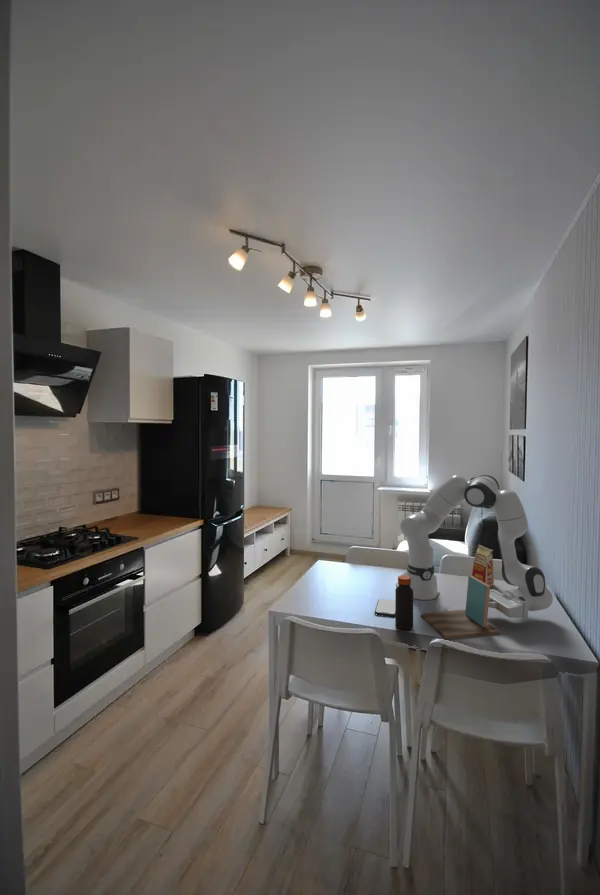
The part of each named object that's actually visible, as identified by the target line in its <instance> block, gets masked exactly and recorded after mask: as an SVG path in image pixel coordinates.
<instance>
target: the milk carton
mask: <svg viewBox="0 0 600 895" xmlns="http://www.w3.org/2000/svg"><path fill="white" fill-rule="evenodd" d="M493 552H494V549H490V548H488V547H485V546H483V545H481V544H478V547H477V550H476V551H475V556H474V559H473V563H472V567H471V575H470V576H473V577H475V578H477V579H479V580H480V581H482V582H484V583H486V584H487V585H489V586H490V587H492V586H493V587H494V585H495V584H494V582H495V580H494V578H495V577H494V574H495V573H494V561H493V560H494V559H493ZM493 584H494V585H493ZM493 587H492V588H493Z"/></svg>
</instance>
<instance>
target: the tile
mask: <svg viewBox="0 0 600 895" xmlns="http://www.w3.org/2000/svg"><path fill="white" fill-rule="evenodd" d="M490 589H491V588H490V586H489V585H487V584H486V583H484V582H482V581H480V580H479V579H477V578H475V577H473V576H471V575H468V581H467V590H466V601H465V602H466V603H465V609H466V611H465V614H466V615H467V616H469V617H470V618H471V619H473V620H474V621H475V622H477V623H478V624H479V625H481V626H482V627H487V622H488V617H489V616H488V615H489V607H488V606H489V595H490Z"/></svg>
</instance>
